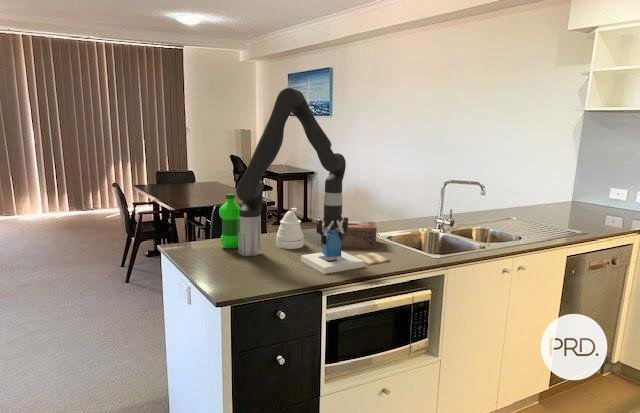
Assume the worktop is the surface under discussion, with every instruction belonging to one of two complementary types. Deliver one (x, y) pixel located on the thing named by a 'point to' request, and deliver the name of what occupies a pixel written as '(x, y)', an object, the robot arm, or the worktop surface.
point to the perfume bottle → (332, 244)
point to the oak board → (372, 258)
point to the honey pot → (290, 232)
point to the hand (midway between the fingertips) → (331, 243)
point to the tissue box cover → (359, 234)
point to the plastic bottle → (230, 222)
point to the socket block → (341, 264)
